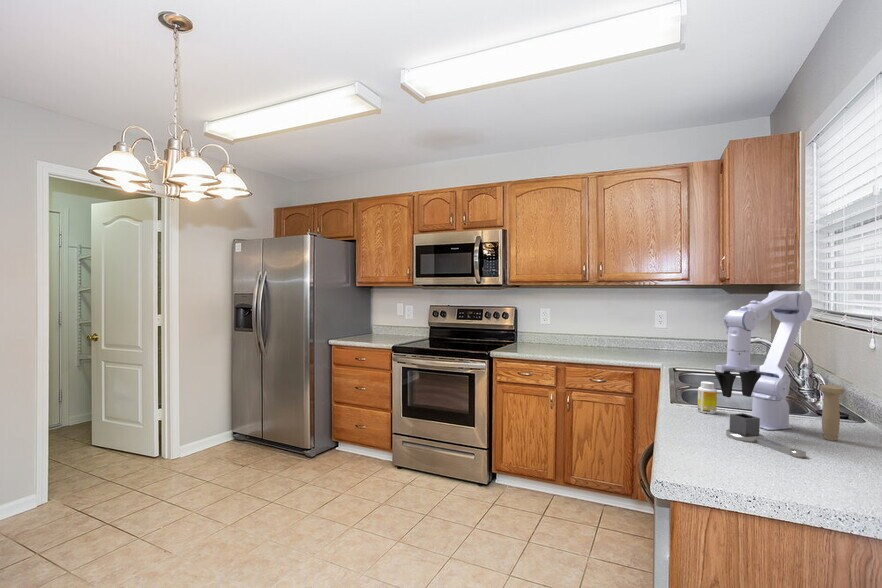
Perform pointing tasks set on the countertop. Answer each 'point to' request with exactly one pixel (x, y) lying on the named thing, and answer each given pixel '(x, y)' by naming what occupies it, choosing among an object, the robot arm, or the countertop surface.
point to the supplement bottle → (707, 398)
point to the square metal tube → (744, 425)
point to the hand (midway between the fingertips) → (736, 396)
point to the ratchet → (768, 444)
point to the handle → (831, 411)
